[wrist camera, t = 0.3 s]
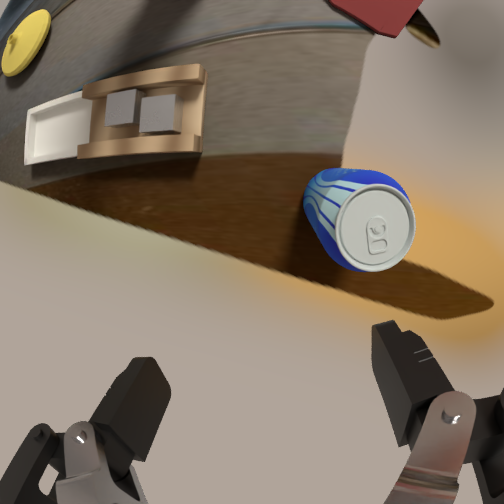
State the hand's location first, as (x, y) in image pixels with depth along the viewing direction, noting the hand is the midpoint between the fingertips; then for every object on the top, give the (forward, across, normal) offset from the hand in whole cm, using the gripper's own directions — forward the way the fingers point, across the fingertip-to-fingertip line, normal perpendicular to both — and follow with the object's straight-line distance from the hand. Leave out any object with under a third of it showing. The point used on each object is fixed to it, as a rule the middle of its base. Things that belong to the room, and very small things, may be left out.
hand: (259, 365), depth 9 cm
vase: (+28, +37, -49) cm, 68 cm away
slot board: (+28, +14, -18) cm, 35 cm away
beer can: (+27, -8, 0) cm, 29 cm away
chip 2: (+26, +10, -16) cm, 32 cm away
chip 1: (+26, +15, -19) cm, 36 cm away
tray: (+28, +29, -22) cm, 46 cm away
